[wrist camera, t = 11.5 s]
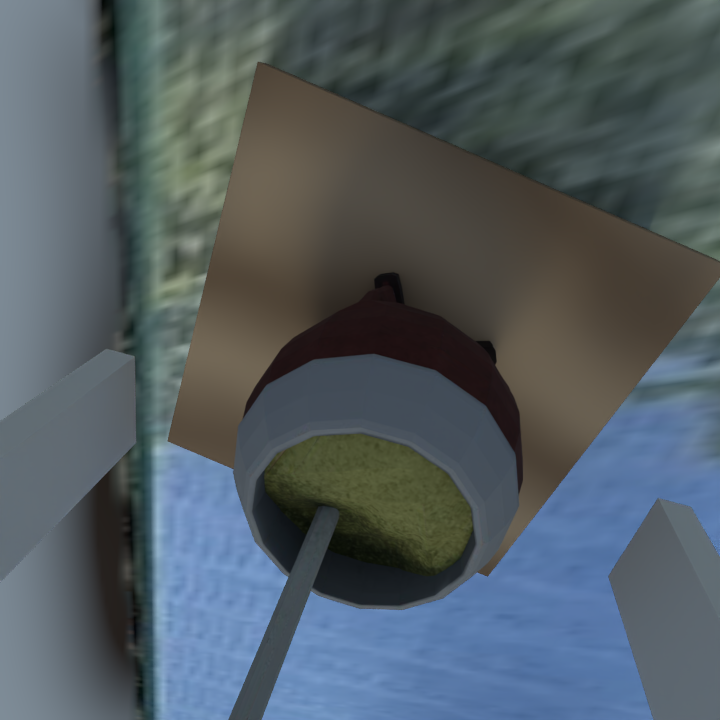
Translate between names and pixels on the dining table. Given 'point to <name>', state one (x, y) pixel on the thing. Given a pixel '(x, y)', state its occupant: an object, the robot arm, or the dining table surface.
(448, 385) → the mate gourd
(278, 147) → the walnut box
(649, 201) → the dining table surface
